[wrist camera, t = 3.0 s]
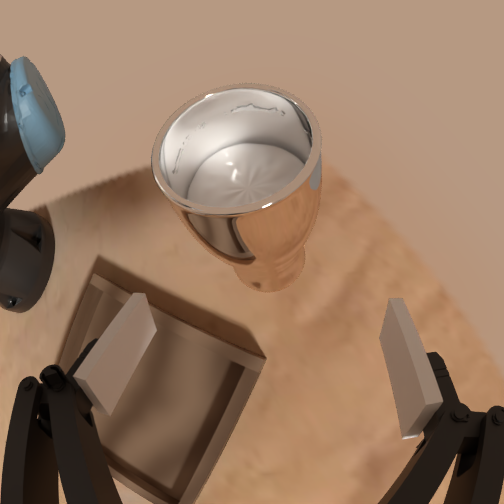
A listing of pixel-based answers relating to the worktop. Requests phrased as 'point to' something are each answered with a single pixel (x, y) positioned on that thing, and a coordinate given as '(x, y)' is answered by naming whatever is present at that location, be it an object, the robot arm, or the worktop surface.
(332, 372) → the worktop surface
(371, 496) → the worktop surface
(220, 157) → the silver metal cup
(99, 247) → the worktop surface
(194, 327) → the walnut tray
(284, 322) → the worktop surface
